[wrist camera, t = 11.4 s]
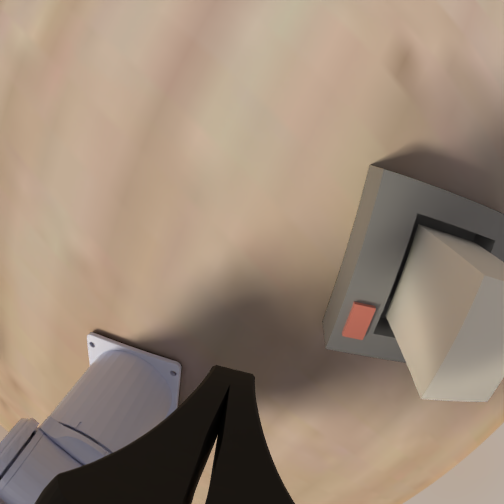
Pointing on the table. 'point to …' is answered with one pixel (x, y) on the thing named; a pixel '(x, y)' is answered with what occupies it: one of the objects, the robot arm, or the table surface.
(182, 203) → the table surface
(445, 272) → the plug
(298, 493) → the table surface
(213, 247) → the table surface
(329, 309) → the socket
